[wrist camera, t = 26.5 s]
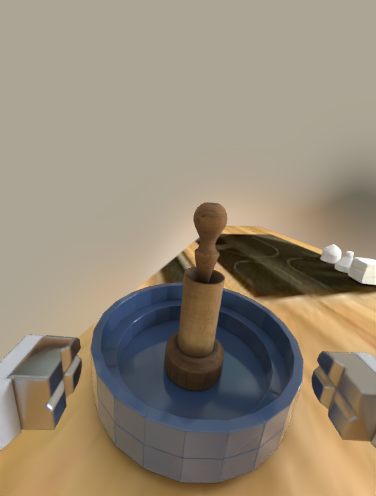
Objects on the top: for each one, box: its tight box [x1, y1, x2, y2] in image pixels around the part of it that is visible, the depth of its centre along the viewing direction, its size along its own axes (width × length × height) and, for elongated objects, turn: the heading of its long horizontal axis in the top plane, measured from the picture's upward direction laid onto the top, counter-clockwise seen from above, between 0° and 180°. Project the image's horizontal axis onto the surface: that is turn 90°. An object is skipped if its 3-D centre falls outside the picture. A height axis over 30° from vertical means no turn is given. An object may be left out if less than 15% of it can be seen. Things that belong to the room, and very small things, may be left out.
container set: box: [320, 244, 376, 285], centre depth 62 cm, size 20×5×6 cm, turn 178°
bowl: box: [91, 282, 303, 483], centre depth 24 cm, size 21×21×6 cm
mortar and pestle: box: [164, 203, 227, 391], centre depth 22 cm, size 7×6×18 cm
